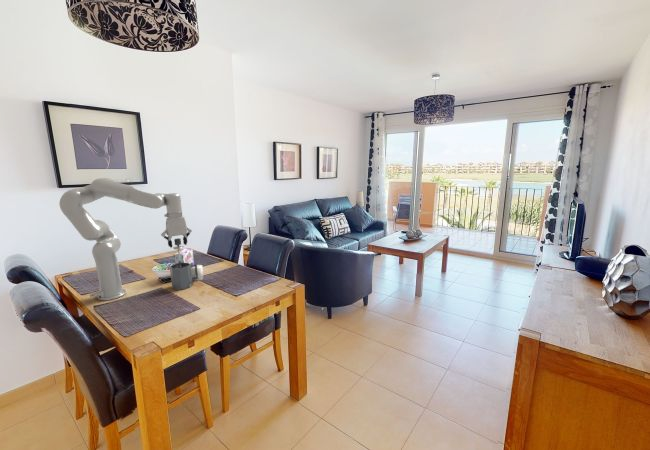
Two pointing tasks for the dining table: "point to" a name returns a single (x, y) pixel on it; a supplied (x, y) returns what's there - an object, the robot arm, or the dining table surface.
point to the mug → (199, 271)
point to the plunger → (178, 242)
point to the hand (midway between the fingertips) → (178, 245)
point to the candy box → (185, 256)
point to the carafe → (182, 276)
